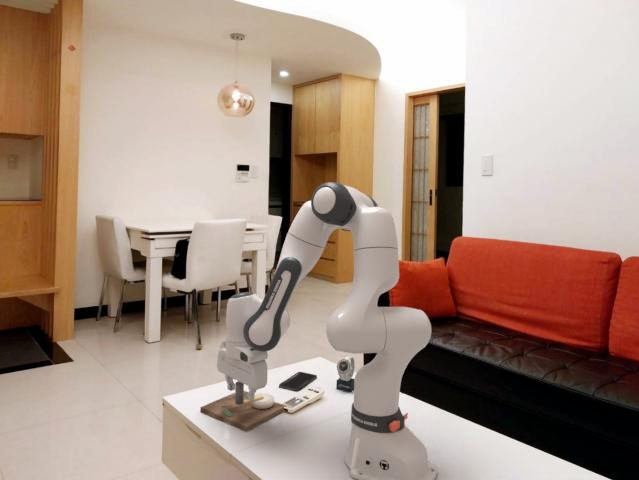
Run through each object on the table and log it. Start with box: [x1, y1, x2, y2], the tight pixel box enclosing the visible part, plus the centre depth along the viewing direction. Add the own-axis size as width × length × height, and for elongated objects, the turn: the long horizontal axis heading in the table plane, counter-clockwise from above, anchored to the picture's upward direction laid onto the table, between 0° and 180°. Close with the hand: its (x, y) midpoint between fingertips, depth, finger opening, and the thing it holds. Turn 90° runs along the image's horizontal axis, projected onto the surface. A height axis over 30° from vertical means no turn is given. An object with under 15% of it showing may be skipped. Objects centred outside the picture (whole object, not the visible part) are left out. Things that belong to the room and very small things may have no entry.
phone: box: [278, 371, 318, 393], centre depth 171 cm, size 8×1×15 cm
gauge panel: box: [200, 390, 287, 433], centre depth 147 cm, size 19×17×2 cm
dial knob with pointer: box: [232, 381, 275, 409], centre depth 146 cm, size 14×7×8 cm, turn 129°
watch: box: [335, 355, 356, 393], centre depth 166 cm, size 6×8×11 cm
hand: (240, 394), depth 142 cm, fingers open, 8 cm apart
